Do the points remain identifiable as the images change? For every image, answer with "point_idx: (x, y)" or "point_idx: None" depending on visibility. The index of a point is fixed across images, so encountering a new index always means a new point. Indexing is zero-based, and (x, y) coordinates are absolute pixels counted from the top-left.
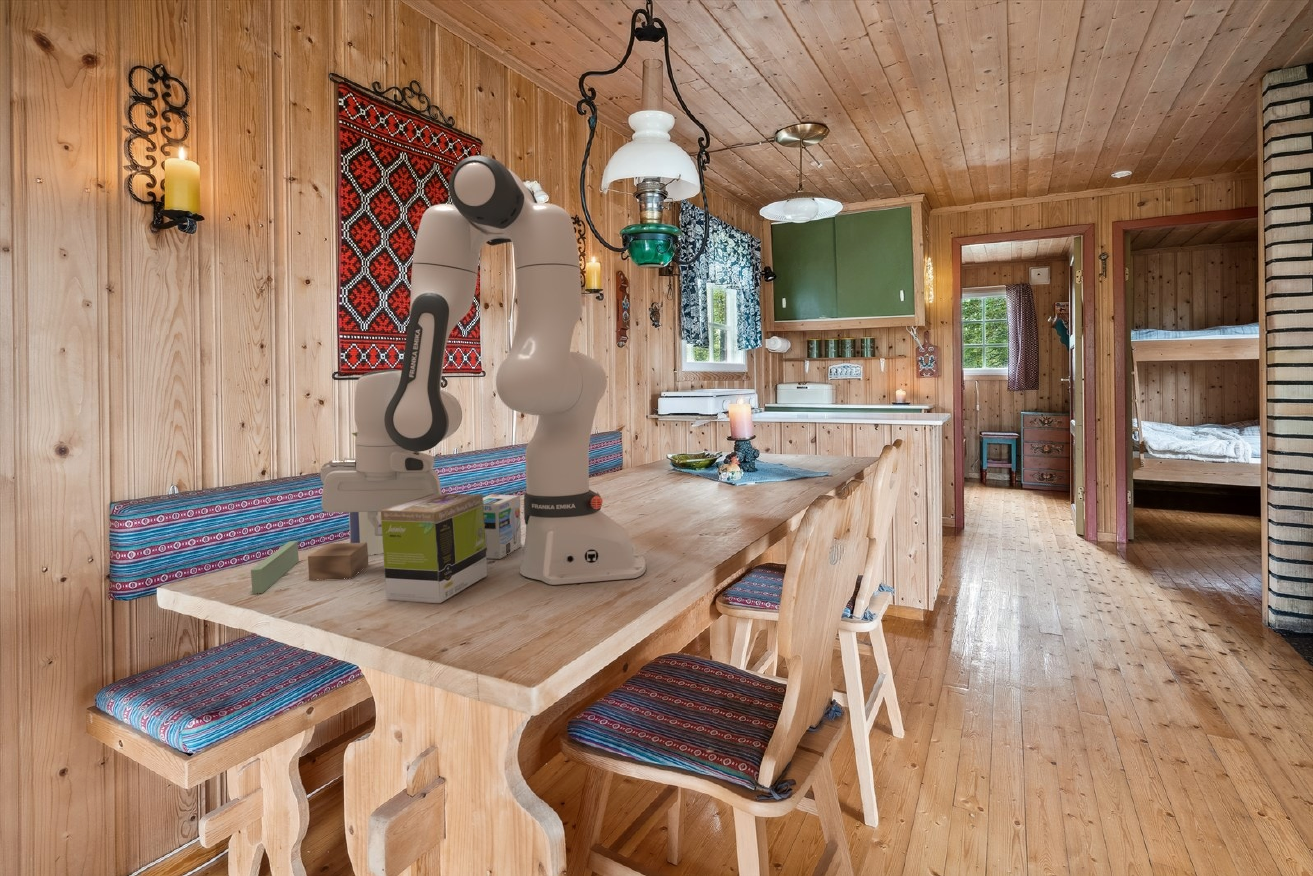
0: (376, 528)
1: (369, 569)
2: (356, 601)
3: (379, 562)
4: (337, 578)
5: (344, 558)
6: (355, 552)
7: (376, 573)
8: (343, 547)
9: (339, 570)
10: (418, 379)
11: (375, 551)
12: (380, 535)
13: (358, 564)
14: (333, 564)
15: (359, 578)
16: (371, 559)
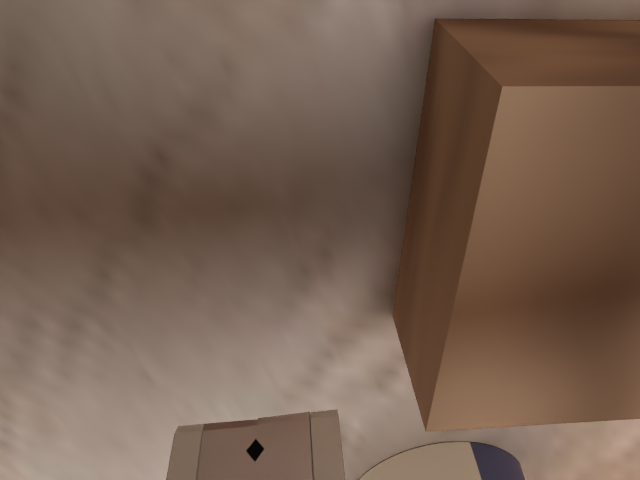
0: (322, 472)
1: (361, 235)
2: None
3: (341, 353)
4: (536, 22)
5: (542, 75)
6: (466, 221)
7: (285, 143)
8: (580, 332)
9: (544, 40)
10: None
11: (401, 470)
12: (285, 415)
13: (427, 205)
14: (616, 55)
15: (374, 27)
16: (400, 398)
